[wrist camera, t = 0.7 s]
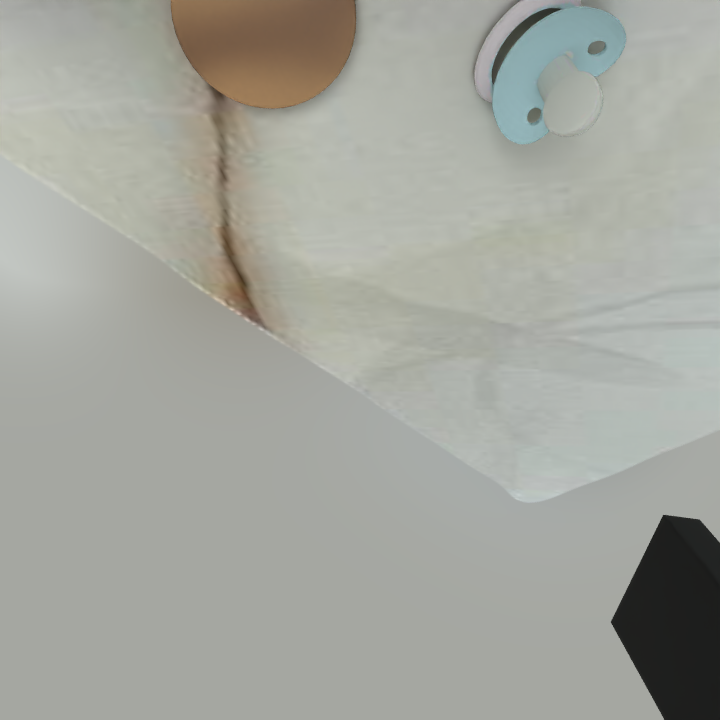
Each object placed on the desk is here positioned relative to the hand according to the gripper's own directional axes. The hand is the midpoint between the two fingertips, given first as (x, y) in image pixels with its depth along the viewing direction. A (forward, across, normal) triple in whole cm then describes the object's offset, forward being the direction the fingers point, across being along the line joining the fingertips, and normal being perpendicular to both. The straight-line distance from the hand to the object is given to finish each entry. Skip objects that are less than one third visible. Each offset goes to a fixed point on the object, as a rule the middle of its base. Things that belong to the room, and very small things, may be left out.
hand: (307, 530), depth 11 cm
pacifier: (+28, +10, +11) cm, 31 cm away
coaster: (+27, -4, +9) cm, 29 cm away
